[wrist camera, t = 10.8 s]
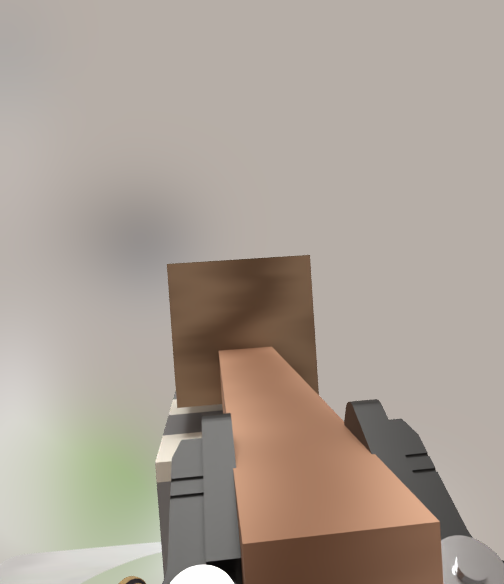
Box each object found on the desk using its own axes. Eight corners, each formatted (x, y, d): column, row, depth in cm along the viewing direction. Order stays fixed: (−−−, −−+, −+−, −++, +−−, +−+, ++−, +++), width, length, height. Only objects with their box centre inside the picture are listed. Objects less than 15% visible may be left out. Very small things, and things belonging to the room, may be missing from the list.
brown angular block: (83, 769, 7) (39, 210, 7) (184, 379, 35) (176, 268, 35) (604, 692, 8) (578, 182, 7) (294, 370, 36) (287, 261, 35)
